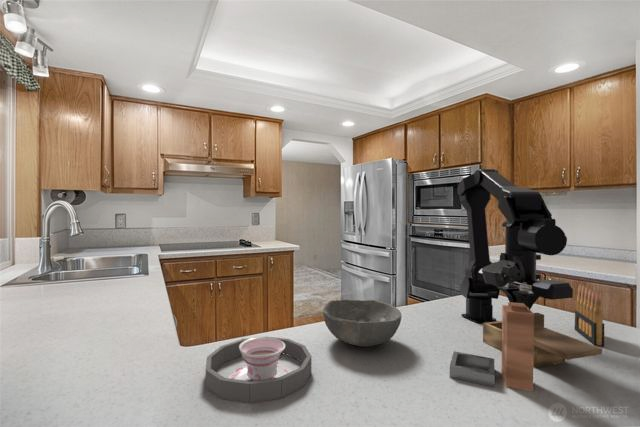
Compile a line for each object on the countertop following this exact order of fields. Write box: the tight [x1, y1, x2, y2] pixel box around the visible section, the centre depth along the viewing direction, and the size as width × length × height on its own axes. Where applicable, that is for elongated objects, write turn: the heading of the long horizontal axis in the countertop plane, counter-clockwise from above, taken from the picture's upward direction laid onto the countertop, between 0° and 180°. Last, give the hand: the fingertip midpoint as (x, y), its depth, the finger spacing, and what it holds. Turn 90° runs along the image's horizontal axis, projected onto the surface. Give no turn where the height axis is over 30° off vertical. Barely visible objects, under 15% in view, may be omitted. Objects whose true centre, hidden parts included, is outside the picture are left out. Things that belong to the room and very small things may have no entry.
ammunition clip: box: [574, 283, 605, 347], centre depth 79 cm, size 11×2×12 cm, turn 162°
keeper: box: [449, 350, 496, 388], centre depth 61 cm, size 7×7×2 cm
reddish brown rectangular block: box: [501, 301, 535, 391], centre depth 58 cm, size 4×4×14 cm
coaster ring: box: [205, 336, 312, 404], centre depth 61 cm, size 19×19×3 cm
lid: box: [533, 312, 603, 360], centre depth 65 cm, size 13×8×4 cm, turn 17°
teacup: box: [227, 336, 294, 381], centre depth 59 cm, size 12×12×6 cm
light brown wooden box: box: [482, 320, 566, 369], centre depth 71 cm, size 13×8×4 cm, turn 17°
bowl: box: [322, 299, 402, 347], centre depth 76 cm, size 18×18×8 cm
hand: (519, 321), depth 71 cm, fingers closed
